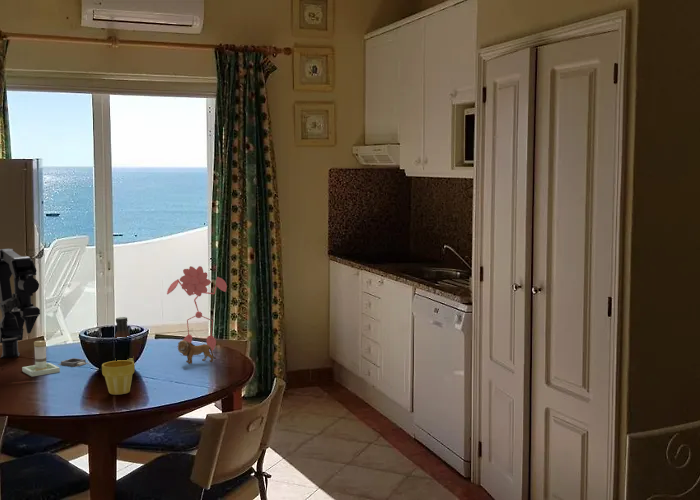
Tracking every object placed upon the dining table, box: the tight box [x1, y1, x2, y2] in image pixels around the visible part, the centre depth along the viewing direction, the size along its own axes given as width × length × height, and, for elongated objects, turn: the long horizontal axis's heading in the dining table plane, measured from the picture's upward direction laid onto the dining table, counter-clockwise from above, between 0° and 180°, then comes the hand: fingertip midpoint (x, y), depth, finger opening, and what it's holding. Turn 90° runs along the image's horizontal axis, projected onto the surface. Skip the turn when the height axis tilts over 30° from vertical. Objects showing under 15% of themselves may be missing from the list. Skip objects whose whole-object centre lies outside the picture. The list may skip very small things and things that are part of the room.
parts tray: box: [21, 362, 61, 377], centre depth 293 cm, size 10×10×2 cm
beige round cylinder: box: [33, 340, 47, 371], centre depth 293 cm, size 4×4×11 cm
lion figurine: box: [177, 339, 217, 365], centre depth 308 cm, size 15×5×9 cm, turn 114°
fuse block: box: [57, 357, 89, 368], centre depth 305 cm, size 9×7×2 cm
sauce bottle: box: [113, 316, 135, 363], centre depth 294 cm, size 7×6×20 cm
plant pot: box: [101, 360, 136, 396], centre depth 267 cm, size 10×10×10 cm
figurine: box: [166, 265, 228, 357], centre depth 324 cm, size 15×26×35 cm, turn 80°
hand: (24, 331), depth 304 cm, fingers open, 9 cm apart
